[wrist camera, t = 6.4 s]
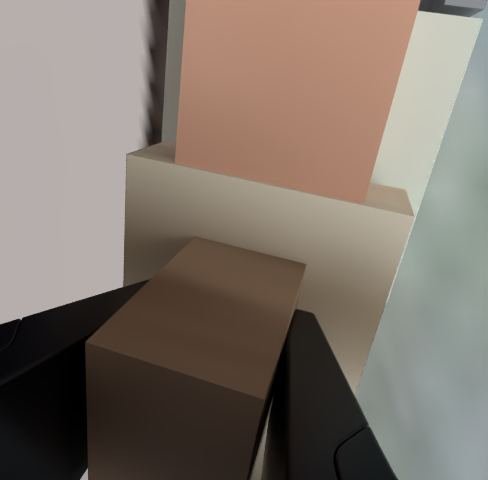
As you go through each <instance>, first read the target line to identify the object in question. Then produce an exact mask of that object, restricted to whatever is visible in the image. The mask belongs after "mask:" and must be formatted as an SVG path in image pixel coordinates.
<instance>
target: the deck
mask: <svg viewBox="0 0 488 480" xmlns="http://www.w3.org/2000/svg"><path fill="white" fill-rule="evenodd" d="M185 9H186V0H170V1H169V19H168V36H167V54H166V71H165V89H164V106H163V124H162V142H164V141H172V142H176V137H177V123H178V109H179V94H180V80H181V66H182V52H183V38H184V24H185ZM482 21H483V19H480V18H472V17H464V16H456V15H448V14H440V13H432V12H424V11H418V12H417V15H416V19H415V22H414V26H413V30H412V33H411V37H410V40H409V44H408V48H407V51H406V55H405V58H404V62H403V65H402V69H401V73H400V76H399V80H398V83H397V87H396V90H395V94H394V98H393V101H392V105H391V108H390V112H389V116H388V119H387V123H386V126H385V130H384V133H383V137H382V141H381V144H380V148H379V151H378V155H377V158H376V162H375V166H374V169H373V173H372V176H371V180H370V182H371V183H376V184H381V185H386V186H391V187H395V188H400V189H405V190H406V192H407V195H408V198H409V201H410V204H411V207H412V210H413V213H414V216H415V218H414V221H413V224H412V227H411V230H410V233H409V236H408V238H407V241H406V244H405V247H404V250H403V253H402V256H401V259H400V262H399V265H398V268H397V271H396V274H395V277H394V280H393V283H392V286H391V289H390V292H389V295H388V298H387V301H386V303H387V302H388V299H389V296H390V293H391V290H392V287H393V284H394V281H395V278H396V275H397V272H398V269H399V266H400V263H401V260H402V257H403V254H404V251H405V249H406V246H407V243H408V240H409V237H410V234H411V231H412V228H413V225H414V222H415V219H416V216H417V213H418V210H419V207H420V204H421V201H422V198H423V195H424V192H425V189H426V186H427V183H428V181H429V178H430V175H431V172H432V169H433V166H434V163H435V160H436V157H437V154H438V151H439V148H440V145H441V142H442V139H443V136H444V133H445V130H446V127H447V124H448V121H449V118H450V116H451V113H452V110H453V107H454V104H455V101H456V98H457V95H458V92H459V89H460V86H461V83H462V80H463V77H464V74H465V71H466V68H467V65H468V62H469V59H470V56H471V53H472V50H473V48H474V45H475V42H476V39H477V36H478V33H479V30H480V27H481V24H482Z"/></svg>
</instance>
